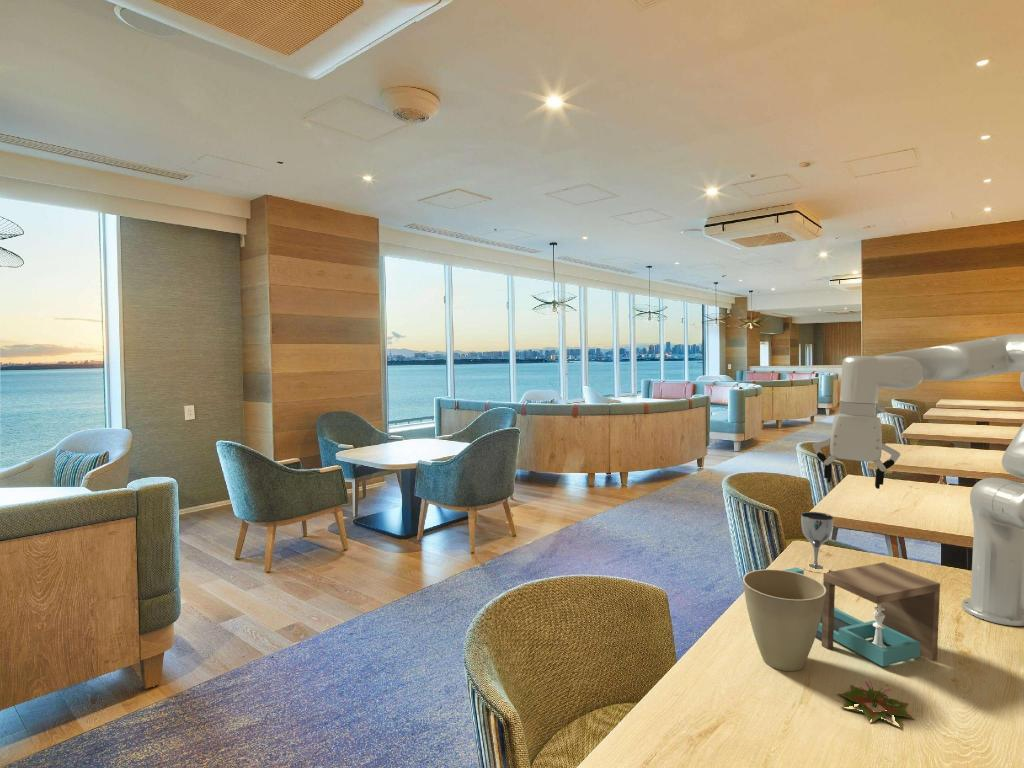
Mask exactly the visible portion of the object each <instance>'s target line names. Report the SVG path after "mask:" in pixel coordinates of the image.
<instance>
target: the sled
mask: <svg viewBox="0 0 1024 768" xmlns="http://www.w3.org/2000/svg"><path fill="white" fill-rule="evenodd" d="M784 570H785V571H791V572H796V573H800V574H803V575H805V573H804V572H805V571H804V570H805V569H803V568H799V567H792V568H787V569H784ZM834 617H836V618H838V619H840V620H842V621H844V622H846V623H848V624H850V625H851V626H846V627H842V628H839V632H837V631H835V630H834V634H833V639H834V640H833V641H836V642H838V643H839V644H841V645H843V646H844V647H846V648H849V650H852V651H854V652H856V653H857V654H859V655H861V656H863V657H865V658H866V659H868V660H870V661H872V662H874V663H875V664H878V665H879V666H881V667H886V666H890V665H894V664H898V663H902V662H905V661H910V660H913V659H918V658H920V656H921V655H920V642H918V641H916V640H914V639H912V638H910V637H908V636H906V635H904V634H902V633H899V632H897V631H895V630H893V629H891V628H889V627H887V626H885V625H884V626H885V628H884V629H882V640H883V643H885V644H887V645H889V646H886V647H885V648H881V647H879V646H877V645H875V644H873V643H872V642H873V641H872V642H871V641H870V640H869V639H871V638H874V637H875V631H876V627H874V626H873V623H876V621H875V620H870V621H863V620H860V619H858V618H856V617H855V616H852V615H850V614H848V613H846V612H843V611H842V610H840V609H838V608H836V607H834ZM818 631H819V632H821V633H822V623H820V624H819V627H818Z"/></svg>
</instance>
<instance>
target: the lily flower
mask: <svg viewBox="0 0 1024 768" xmlns="http://www.w3.org/2000/svg"><path fill="white" fill-rule="evenodd" d="M864 683H865V684H866V687H867V689H868V690H866V689H865V688H864V687H862V686H860V687H858V686H853V685H852V684H850V691H845V692H842V693H838V695H839V696H841V697H844V698H846V699H848V700H847V701H845V703H843V706H842V707H841V709H843V710H845V709H844V707H849V706H853V707H854V704H859V706H861V707H860V710H863V712H864V713H863V712H862V711H859V710H857V709H858V708H856V709H847V710H848V711H849V710H850V711H853V712H858V713H862V714H864V715H865V717H866V719H868V721H870V720H871V719H872V723H873V722H875V721H876V720H878V719H880V720H882V721H884V722H886V723H889V724H890V725H892V726H895V727H897V726H896V725H893V724H892V723H890V722H888V721H887V720H884V719H881V717H883V718H885V716H886V715H890V714H891V715H894V717H895V721H896V722H897V723H898V724H899V726H900V727H901V728H899V729H901V730H902V731H903V726H902V722H903V721H902V719H901V718H900V717H904V718H908V719H911V720H914V719H915V718H914V717H913V716H911V714H909V713H908V711H907V710H906V709H905V708H906V707H907V706H908V705H909V703H908V702H907V703H906V702H904V701H900V700H898V699H895V698H889V695H887V694H886V692H889V691H892V689H889V688H888V689H885V690H883V689H884V687H887V686H888V685H889V684H888V683H887V684H884V686H883V687H881V688H880V689H879V691H878V690H874V689H873V684H872V682H871V680H869V683H870V685H871V686H870V685H869V683H868V682H867V681H864ZM882 690H883V691H882ZM867 704H871V706H872V708H877V706H878V705H879V706H880V707H882V708H883V709H884V710H880V711H881V712H873V711H874V710H873V709H871V708H870V707H869V706H868V705H867ZM866 705H867V706H868V707H867V706H866ZM872 710H873V711H872ZM885 710H887V711H885ZM912 718H913V719H912Z"/></svg>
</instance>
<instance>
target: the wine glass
mask: <svg viewBox="0 0 1024 768" xmlns="http://www.w3.org/2000/svg"><path fill="white" fill-rule="evenodd" d="M800 522H801V531H802V533H803V535H804V536H805V538H806V539H807V540H808V542H809V543H810V544H811V546H812V549H813V555H814V559H813V560H814V561H813V564H809V566H810V567H812V568H815V569H823V566H824V565H823V566H821V565H822V564H819V563H818V558H819V557H818V556H819V551H820V548H821V547H822V546H823V544H825V542H827V541H829V539H830V538H831V536H832V533H833V528H834V527H833V526H834V516H833V515H831V514H829V513H826V512H825V513H824V512H820V511H803V512H801V517H800ZM818 564H819V565H818Z"/></svg>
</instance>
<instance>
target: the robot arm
mask: <svg viewBox="0 0 1024 768" xmlns="http://www.w3.org/2000/svg"><path fill="white" fill-rule="evenodd" d="M1008 373H1021V374H1020V376H1019V384H1020V387H1021V389H1022V392H1023V393H1024V333H1012V334H1003V335H997V336H990V337H985V338H980V339H979V338H978V339H974V340H969V341H968V340H967V341H960V342H953V343H950V344H949V343H948V344H940V345H936V346H930V347H925V348H916V349H909V350H902V351H897V352H891V353H890V352H889V353H884V354H878V355H874V356H869V355H868V356H867V355H864V356H863V355H849V356H846V357H845V358H843V360H842V364H841V377H840V378H841V379H840V389H839V390H840V392H839V393H840V394H839V404H838V405H839V407H838V414H837V413H836V414H834V417H833V421H832V425H831V431H830V438H826V439H824V440H823V439H822V440H821V441H818V442H816V443H813V444H812V448H813V451H814V452H815V455H816V457H817V458H818V459H819V460H820V461H821V462H822V463H823V465H824V473H823V478H824V479H826V483H827V484H829V483H831V482H832V470H833V469H832V466H833V465H832V462H834V461H835V460H836V459H842V460H847V461H848V460H850V461H858V462H869V463H872V462H873V463H874V464H875V466H876V467H877V468H876V469H875V478H874V479H875V481H874V487H875V489H879V490H880V487H881V486H883V485H884V482H885V481H884V477H885V472H886V471H887V470H888V469H890V468H891V467H892V466H895V463H896V462H897V460H899V458H900V456H901V452H899V451H898V450H896V449H894V448H892V447H891V446H888V445H887V444H885V443H883V433H882V432H883V431H882V420H881V417H878V415H879V414H885V413H886V407H885V406H880V405H879V404H878V403H879V395H880V388H881V389H888V390H895V391H907V390H912V389H913V388H916V387H917V386H919V385H920V384H921V383H922V382H923V381H931V382H933V381H934V382H937V381H938V382H955V381H957V382H958V381H966V380H972V379H977V378H984V377H990V376H996V375H1002V374H1008ZM827 446H829V453H830V454H829V455H827V456H826V455H825V454H824V453H823V452H822V448H824V447H827ZM883 451H884V452H885V453H887V454H889V455H890V456H889V458H888V459H887V460H885V461H884V462H882V460H881V458H882V453H883ZM1001 466H1002V468H1003V469H1004V471H1005V472H1006V473H1008V474H1010V476H1013V477H1016V478H1018V479H1022V480H1024V422H1023V423H1022V425H1021V427H1020V428H1019V430H1018V431H1017V433H1016V434H1015V435H1014V437H1013V439H1012V440H1011V441H1010V444H1009V445H1008V447H1007V448H1006V449H1005V451H1004V453H1003V455H1002V457H1001ZM880 485H881V486H880ZM969 504H970V508H971V510H970V511H971V513H972V519H973V520H972V521H973V522H972V523H973V542H972V563H971V583H970V584H971V586H970V597H967V598H965V599H963V600H962V602H961V608H962V610H964V611H965V612H966V611H967V613H968V614H970V615H971V616H973V615H974V616H973V617H975V618H976V617H977V619H981V620H983V619H984V621H987V622H990V623H994V624H999V625H1005V626H1011V627H1012V626H1014V627H1024V483H1021V482H1017V481H1014V480H1010V479H1007V478H1001V477H987V478H983V479H981V480H978V481H977V482H976V483H975V484H974V485H973V486H972V488H971V491H970V493H969Z"/></svg>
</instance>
